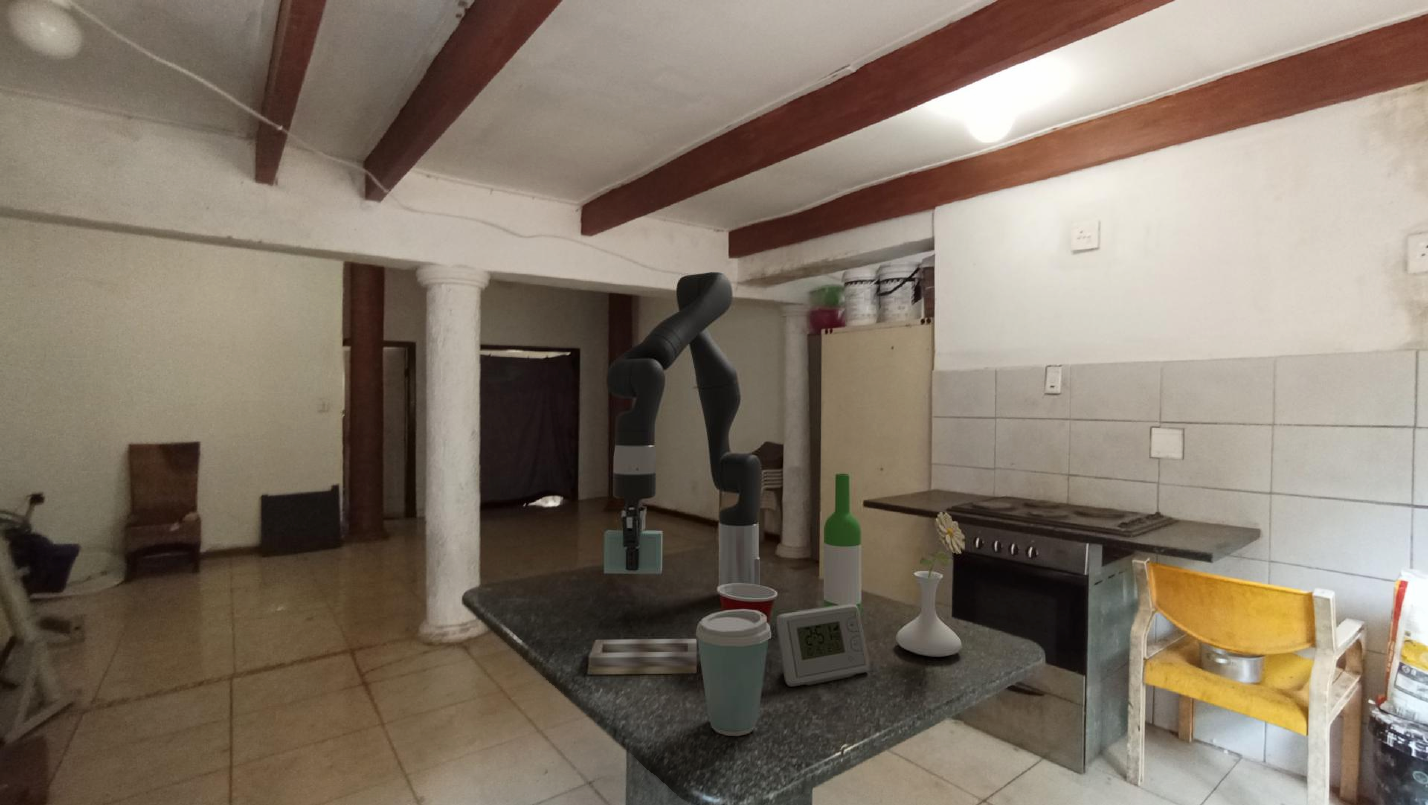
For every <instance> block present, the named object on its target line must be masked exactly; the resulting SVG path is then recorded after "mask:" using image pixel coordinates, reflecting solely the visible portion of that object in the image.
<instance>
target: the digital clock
mask: <svg viewBox="0 0 1428 805" xmlns="http://www.w3.org/2000/svg"><path fill="white" fill-rule="evenodd" d="M775 627H776V628H775V629H776V634H777V640H778V645H779V646H778V647H779V652H780V658H781V665H782V672H783V676H784V677H783V678H784V681H785V684H786V685H787V686H788V687H797V686H798V687H799V686H802V685H803V686H804V685H806V686H810V685H815V684H821V683H825V682H826V683H827V682H830V681H835V680H840V679H846V678H850V677H853V676H854V675H859V674H863V673H866V672H868V671H869V670H870V659H869V655H868V650H867V646H866V639H865V636H864V635H865V634H864V631H863V626H862V621H861V613H860V614H859V610H858V607H857V606H856V605H855V604H847V605H840V606H836V605H833V606H827V607H824V606H821V607H814V608H813V607H812V608H808V609H801V610H795V611H794V612H788V613H787V612H786V613H781V614H778V615H777V616H776V618H775Z"/></svg>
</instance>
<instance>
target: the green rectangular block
mask: <svg viewBox="0 0 1428 805" xmlns="http://www.w3.org/2000/svg"><path fill="white" fill-rule="evenodd" d="M603 535H604V536H603V537H604V538H603V542H604V543H603V545H604V546H603V548H604V549H603V574H637V575H639V574H640V575H641V574H642V575H644V574H647V575H649V574H650V575H651V574H653V575H654V574H655V575H659V574H662V572H663V530H644V531H643V534H642V535H640V547H639V568H638V570H636V571H628V570H626V549H625V547H624V546H623V529H622V530H619V529H618V530H617V529H615V530H613V529H611V530H610V529H608V530H606V531H605V532H604V534H603ZM629 540H635V538H634V537H633V536H629Z"/></svg>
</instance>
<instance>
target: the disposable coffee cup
mask: <svg viewBox="0 0 1428 805" xmlns="http://www.w3.org/2000/svg"><path fill="white" fill-rule="evenodd" d="M695 632H696V633H695V637H696V640H697V645H698V651H699V658H700V659H699V661H700V666H701V667H700V668H701V672H702V679H703V680H702V681H703V688H704V695H705V702H706V709H707V714H708V716H707V717H708V722H709V723H710V726H711V728H712V729H713V730H714V731H715V732H716V733H718V734H721V735H724V736H728V737H729V736H732V737H740V736H744V735H748V734H750V733H751V732H753V731H754V730H755V729H756V726H757V724H758V722H759V721H758V720H759V713H760V712H759V711H760V706H761V705H760V704H761V698H762V697H761V696H762V692H763V691H762V690H763V683H764V675H765V668H766V662H767V653H768V652H767V651H768V646H769V639H771V638H772V631H771V625H770V624H768V623H767V617H766V616H765V614H763V613H761V612H759V611H757V610H747V609H738V610H726V611H717V612H714V613H710V614H709V615H707V616H705V617H703V618H702V619H701V620H700V621H699V622H698V623H697V626H696V631H695Z"/></svg>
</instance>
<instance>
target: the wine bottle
mask: <svg viewBox="0 0 1428 805" xmlns="http://www.w3.org/2000/svg"><path fill="white" fill-rule="evenodd" d="M834 478H835V482H834V483H835V485H834V487H835V490H834V491H835V493H834V494H835V495H834V499H835V500H834V511H833V512H832V513H831V515H829V516H828V518H827V519H826V520H825V524H824V527H823V607H827V606H833V605H836V606H840V605H847V604H855V605H856V606H857V607H858V610H859V614H860V615H861V613H862V529H861V528H862V527H861V525H860V522H859V520H858V519H857V517H856V516H855V515H854V514H853V513H852V512H851V509H850V507H851V505H850V504H851V503H850V501H851V500H850V497H851V496H850V494H851V492H850V474H849V473H836V474H835V477H834Z"/></svg>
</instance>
